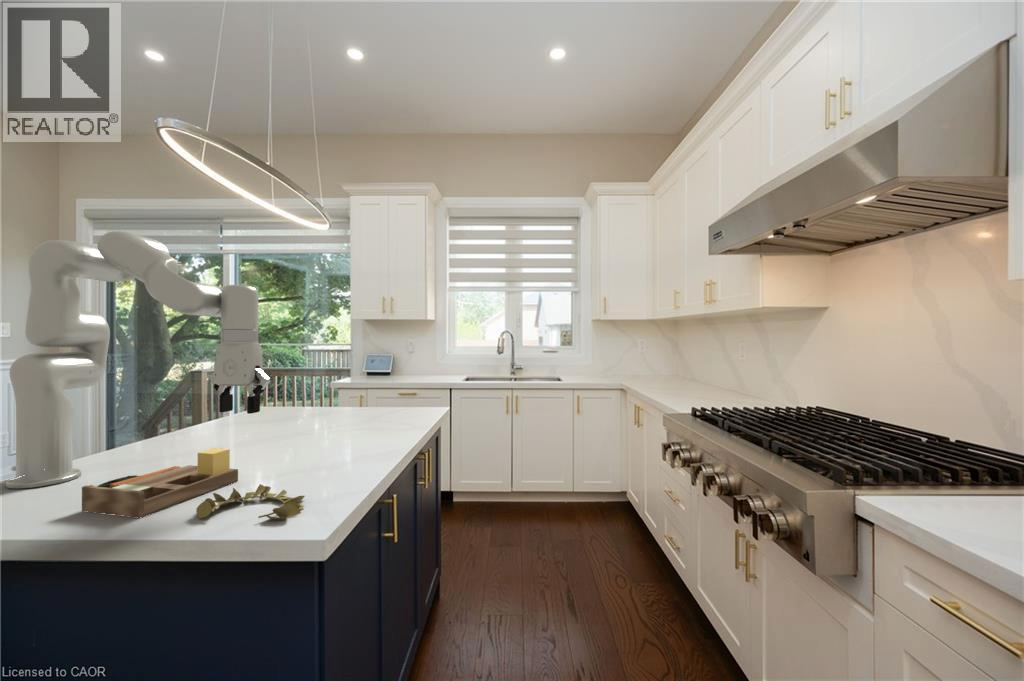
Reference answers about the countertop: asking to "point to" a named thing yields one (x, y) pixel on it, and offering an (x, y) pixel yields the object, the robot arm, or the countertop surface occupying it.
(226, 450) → the block
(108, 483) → the toy gun
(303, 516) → the countertop surface
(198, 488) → the wooden tray
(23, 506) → the countertop surface
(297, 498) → the headpiece
